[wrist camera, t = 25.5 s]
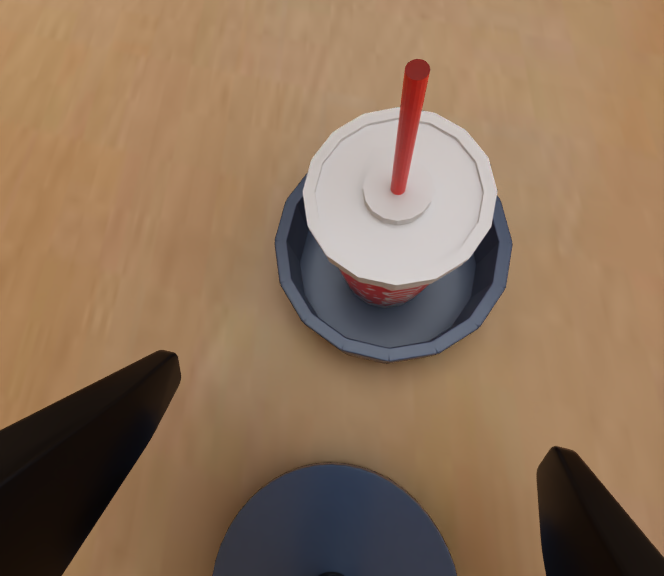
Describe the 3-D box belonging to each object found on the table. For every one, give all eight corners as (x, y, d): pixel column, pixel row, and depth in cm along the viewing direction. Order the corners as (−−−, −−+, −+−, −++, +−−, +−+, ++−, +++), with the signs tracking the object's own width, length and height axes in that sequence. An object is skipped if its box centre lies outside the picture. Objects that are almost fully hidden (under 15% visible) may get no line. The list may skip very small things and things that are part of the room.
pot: (521, 241, 21) (556, 211, 17) (413, 403, 20) (424, 411, 16) (362, 147, 23) (361, 101, 19) (255, 288, 22) (230, 270, 18)
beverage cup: (326, 320, 20) (245, 219, 7) (332, 214, 22) (271, -49, 8) (443, 324, 20) (606, 223, 6) (441, 214, 21) (573, -68, 8)
